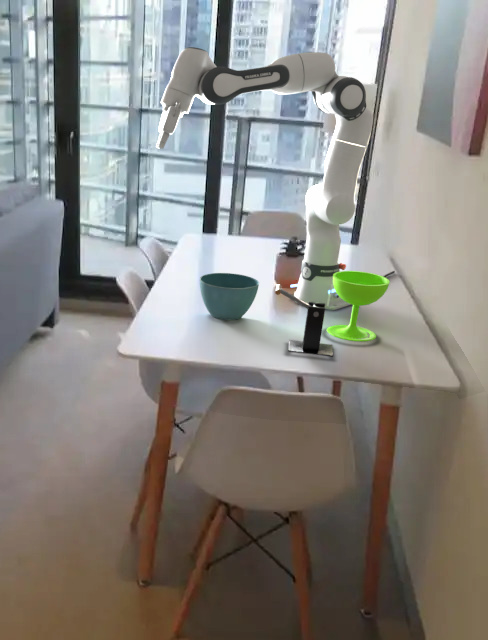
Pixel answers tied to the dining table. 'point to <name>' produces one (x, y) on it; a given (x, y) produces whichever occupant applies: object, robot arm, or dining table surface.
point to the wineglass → (357, 300)
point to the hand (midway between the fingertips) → (159, 148)
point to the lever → (291, 296)
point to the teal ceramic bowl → (228, 294)
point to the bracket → (312, 333)
